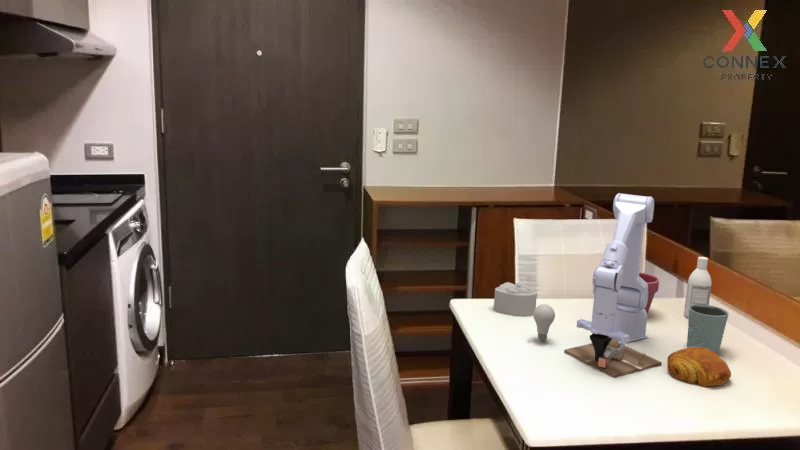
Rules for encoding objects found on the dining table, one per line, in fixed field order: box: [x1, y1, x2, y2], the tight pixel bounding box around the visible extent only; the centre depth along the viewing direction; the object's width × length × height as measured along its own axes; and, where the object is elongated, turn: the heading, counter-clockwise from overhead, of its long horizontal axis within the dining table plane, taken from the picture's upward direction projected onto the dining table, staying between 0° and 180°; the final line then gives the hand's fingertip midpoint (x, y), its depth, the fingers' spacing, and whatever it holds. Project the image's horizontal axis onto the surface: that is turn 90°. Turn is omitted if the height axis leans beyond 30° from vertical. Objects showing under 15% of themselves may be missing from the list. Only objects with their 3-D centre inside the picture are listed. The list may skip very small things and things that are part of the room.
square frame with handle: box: [598, 342, 626, 368], centre depth 178 cm, size 13×5×3 cm, turn 147°
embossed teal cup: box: [686, 304, 730, 356], centre depth 189 cm, size 10×10×12 cm
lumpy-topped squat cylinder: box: [493, 281, 538, 317], centre depth 217 cm, size 10×13×9 cm
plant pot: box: [639, 271, 660, 315], centre depth 217 cm, size 14×14×13 cm
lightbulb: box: [532, 303, 556, 342], centre depth 191 cm, size 6×6×11 cm
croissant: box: [666, 347, 732, 387], centre depth 172 cm, size 14×16×8 cm
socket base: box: [563, 339, 663, 379], centre depth 181 cm, size 18×18×5 cm
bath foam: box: [683, 256, 713, 319], centre depth 215 cm, size 7×7×20 cm
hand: (599, 360), depth 177 cm, fingers closed
